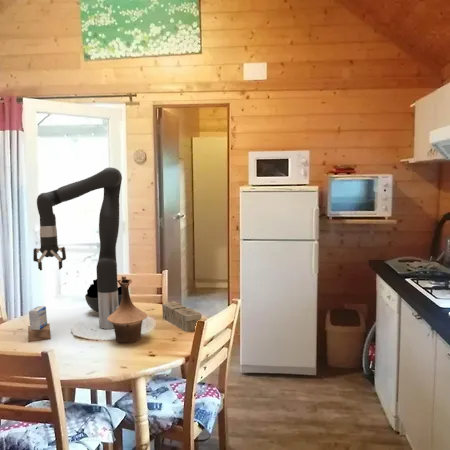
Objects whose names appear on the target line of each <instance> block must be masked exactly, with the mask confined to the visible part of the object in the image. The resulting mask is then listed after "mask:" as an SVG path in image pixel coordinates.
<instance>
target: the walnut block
mask: <svg viewBox="0 0 450 450" xmlns="http://www.w3.org/2000/svg"><path fill="white" fill-rule="evenodd" d="M27 328H28V329H27V335H28V343H33V342H42V341H48V340H51V326H50V323H47V325H46V326H44V327H43V328H42V329H40V330H30V325H28V327H27Z"/></svg>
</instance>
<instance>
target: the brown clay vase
mask: <svg viewBox="0 0 450 450" xmlns="http://www.w3.org/2000/svg"><path fill="white" fill-rule="evenodd" d="M117 282H118V284H119V287H120V286H121V287H122V299H121V303H120V305H119V307H118V308H117V310H116V311H115V312H114V313H113V314H111V315H110V316H109V317H108V318H107V319H108V321H110V322H112V324H113V327H114V328H113V332H114V335H115V341H116V343H117V344H123V345H126V344H127V345H129V344H130V345H131V344H135V343H137V342H139V341H141V339H142V336H141V335H142V325H143V321H144V320H146V319H147V317H148V314H147V313H146V312H145V311H143V310H141V309H140V308H138V307H137V306H135V304H134V303H133V301H132V299H131V297H130V289H129V288H130V287H129V286H130V284H132V283H133V280H132V279H130V278H127V277H126V275H121V279H119V280H118V279H117Z"/></svg>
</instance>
